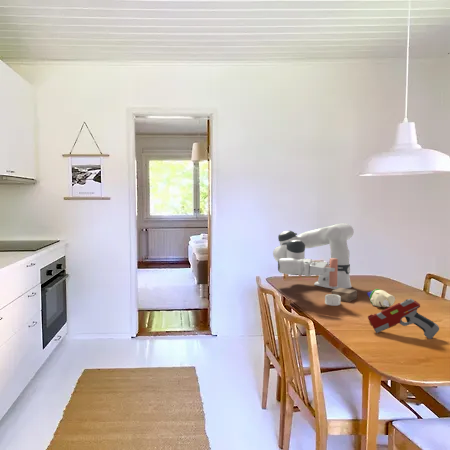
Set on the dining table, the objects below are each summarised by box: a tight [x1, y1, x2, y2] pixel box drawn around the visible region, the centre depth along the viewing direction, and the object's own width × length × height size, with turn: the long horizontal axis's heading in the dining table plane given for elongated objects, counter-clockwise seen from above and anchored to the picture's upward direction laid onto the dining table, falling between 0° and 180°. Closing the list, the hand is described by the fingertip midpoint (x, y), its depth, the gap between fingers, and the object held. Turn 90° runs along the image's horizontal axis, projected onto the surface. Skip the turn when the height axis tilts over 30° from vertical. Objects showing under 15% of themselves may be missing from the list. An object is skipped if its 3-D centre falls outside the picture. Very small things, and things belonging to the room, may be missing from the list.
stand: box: [331, 288, 358, 303], centre depth 224 cm, size 10×10×5 cm
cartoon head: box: [366, 288, 396, 308], centre depth 211 cm, size 9×10×20 cm
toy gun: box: [367, 298, 440, 340], centre depth 167 cm, size 4×22×18 cm
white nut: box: [324, 293, 342, 307], centre depth 214 cm, size 7×7×5 cm
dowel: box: [329, 257, 338, 287], centre depth 213 cm, size 4×4×14 cm
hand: (335, 268), depth 212 cm, fingers closed on dowel, 4 cm apart
